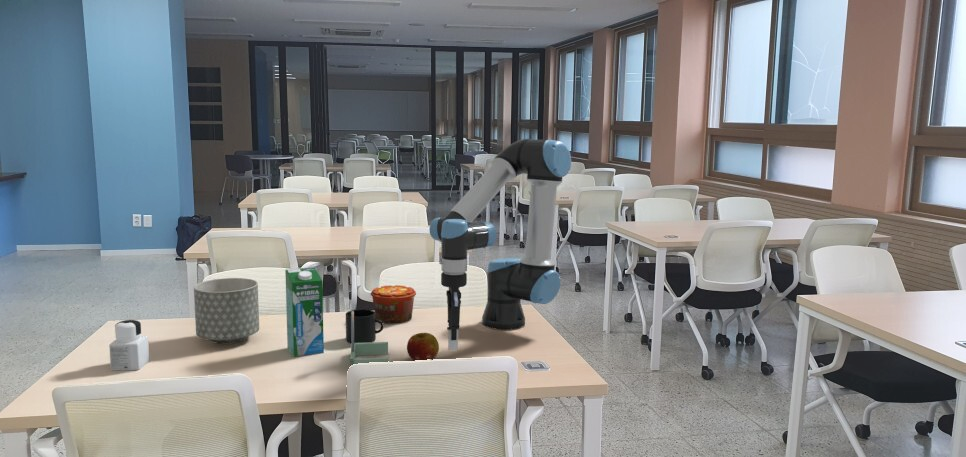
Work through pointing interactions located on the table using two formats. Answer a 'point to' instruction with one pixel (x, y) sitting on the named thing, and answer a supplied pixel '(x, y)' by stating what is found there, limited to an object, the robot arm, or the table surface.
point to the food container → (393, 303)
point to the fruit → (422, 346)
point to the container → (129, 347)
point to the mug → (362, 326)
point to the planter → (226, 309)
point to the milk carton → (304, 311)
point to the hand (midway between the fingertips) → (453, 349)
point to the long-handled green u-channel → (366, 348)
